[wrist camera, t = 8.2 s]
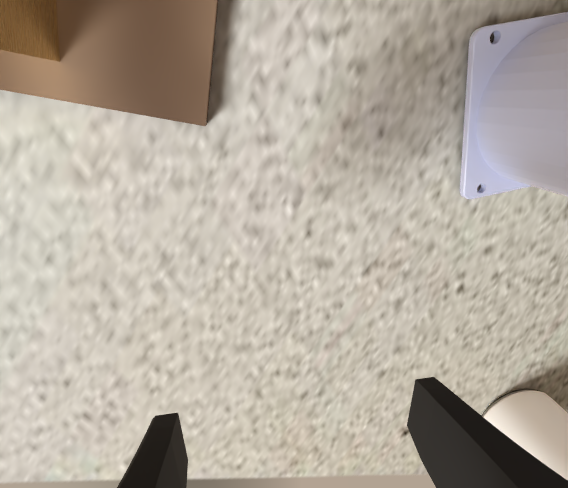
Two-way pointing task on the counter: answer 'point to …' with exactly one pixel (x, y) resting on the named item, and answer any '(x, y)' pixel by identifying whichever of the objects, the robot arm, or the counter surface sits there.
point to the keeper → (125, 58)
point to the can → (534, 426)
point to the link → (30, 28)
